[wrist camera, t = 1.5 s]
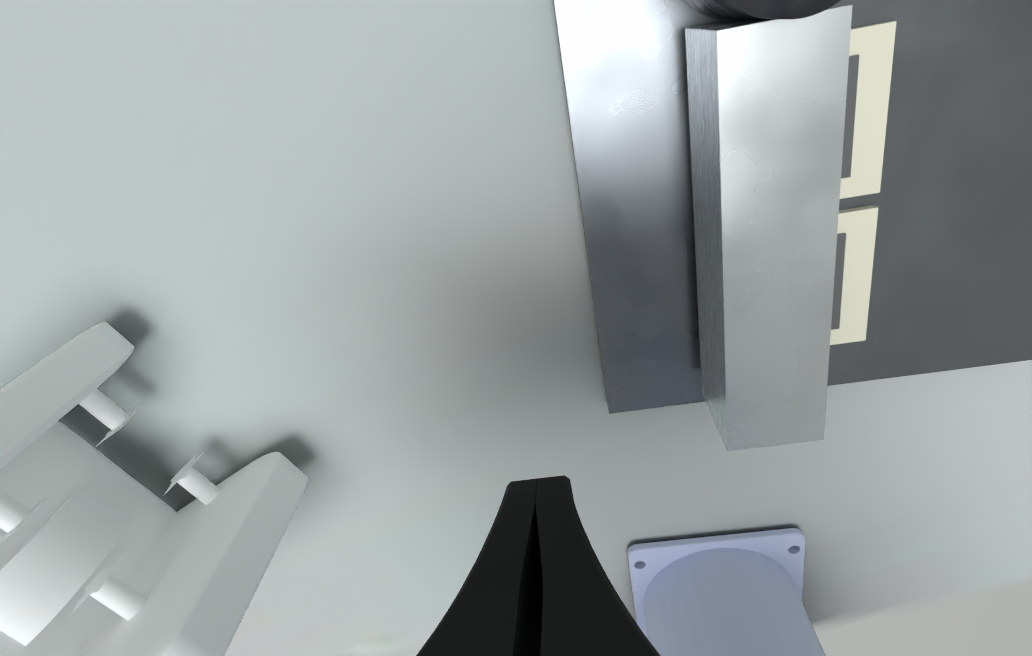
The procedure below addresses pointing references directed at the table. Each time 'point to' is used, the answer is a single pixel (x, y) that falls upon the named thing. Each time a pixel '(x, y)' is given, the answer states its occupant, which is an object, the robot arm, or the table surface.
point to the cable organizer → (121, 527)
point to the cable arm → (766, 209)
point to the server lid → (901, 202)
